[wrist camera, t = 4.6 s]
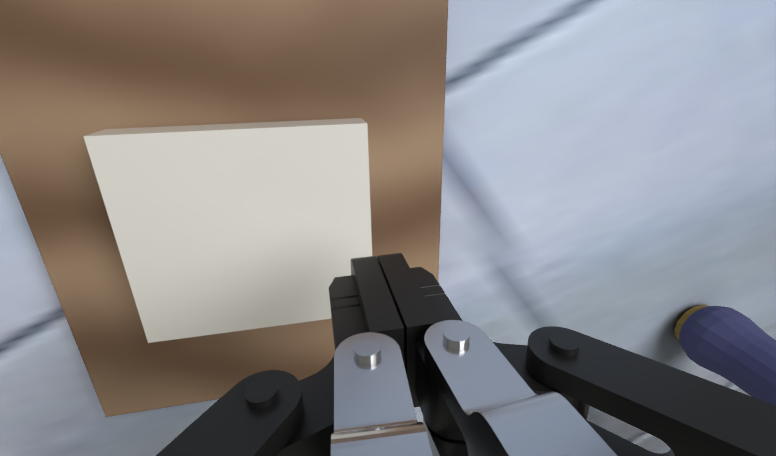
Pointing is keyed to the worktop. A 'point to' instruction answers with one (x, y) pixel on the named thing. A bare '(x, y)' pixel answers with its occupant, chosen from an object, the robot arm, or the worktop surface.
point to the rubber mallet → (730, 348)
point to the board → (204, 107)
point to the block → (235, 219)
